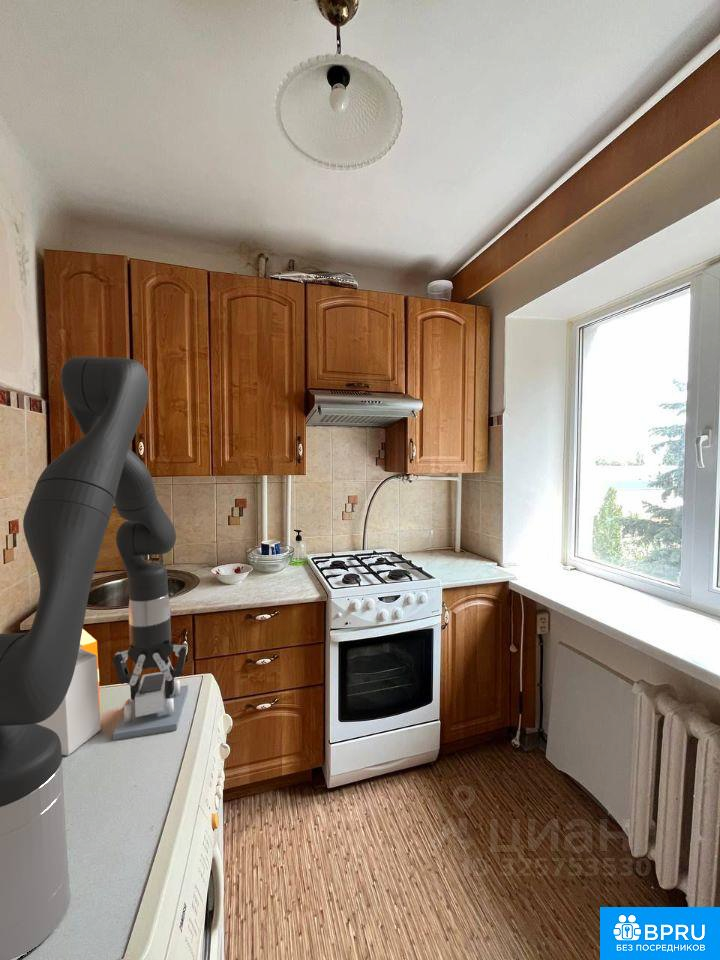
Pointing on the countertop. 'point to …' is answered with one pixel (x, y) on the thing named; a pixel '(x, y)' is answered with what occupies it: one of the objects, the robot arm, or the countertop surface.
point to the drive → (150, 694)
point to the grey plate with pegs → (152, 717)
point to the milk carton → (78, 706)
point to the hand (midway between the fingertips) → (153, 697)
